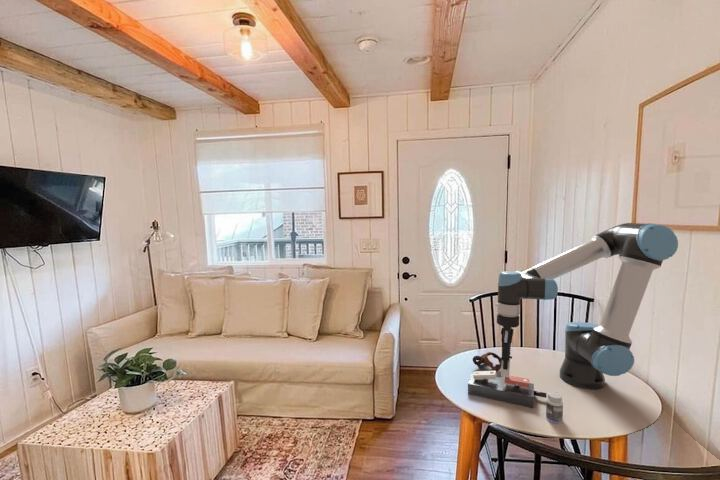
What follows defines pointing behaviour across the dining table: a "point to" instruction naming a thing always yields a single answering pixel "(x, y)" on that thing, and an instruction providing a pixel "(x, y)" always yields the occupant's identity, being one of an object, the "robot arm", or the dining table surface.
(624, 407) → the dining table surface
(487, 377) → the rocker
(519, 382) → the rocker
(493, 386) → the rocker switch panel
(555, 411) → the pill bottle
